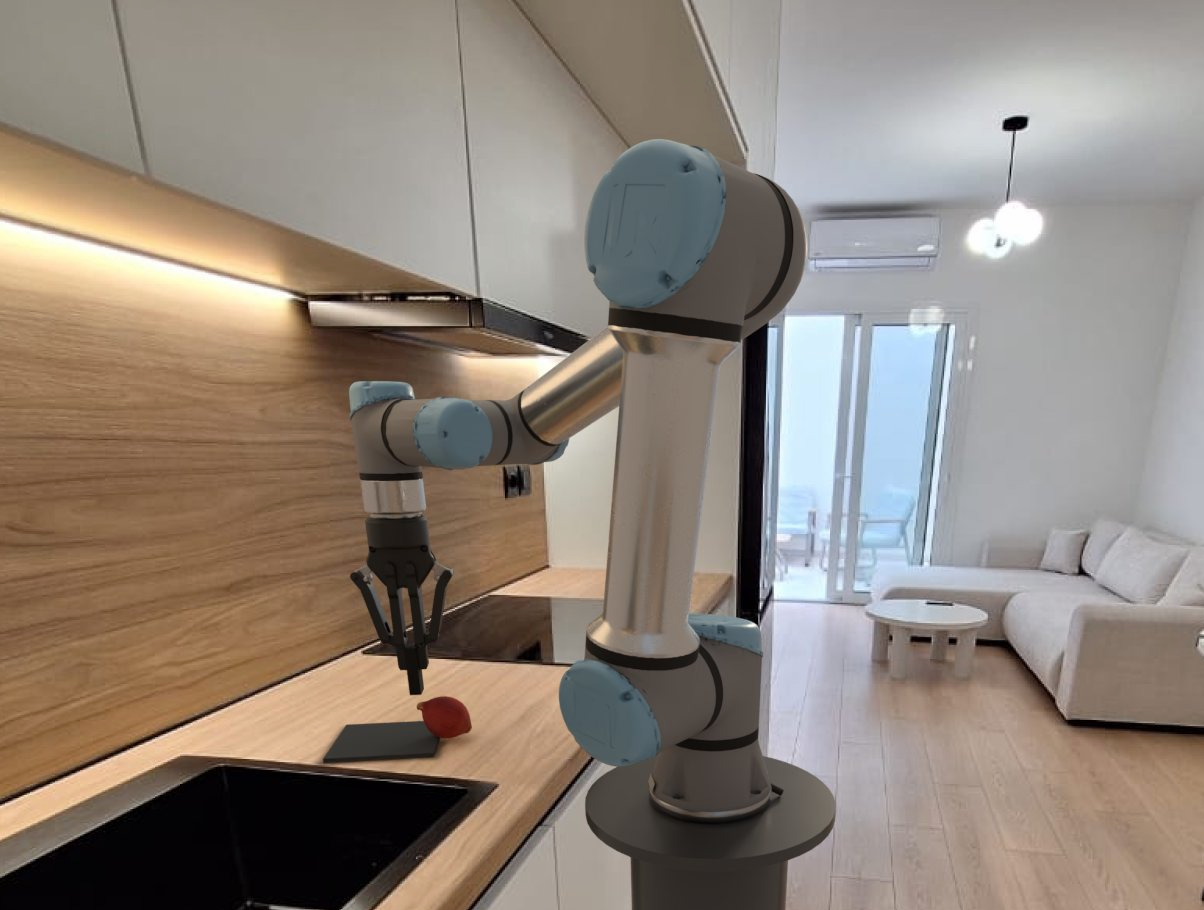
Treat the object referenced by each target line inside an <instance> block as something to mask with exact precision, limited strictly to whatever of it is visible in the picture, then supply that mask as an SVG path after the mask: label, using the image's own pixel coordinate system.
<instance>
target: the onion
mask: <svg viewBox="0 0 1204 910" xmlns="http://www.w3.org/2000/svg"><path fill="white" fill-rule="evenodd" d="M416 710H418V711H420V712H421V716H422V721H424V723H425V725H426V727H427V728H428V730H429V731H430V732H431V733H432V734H434V735H435V736H437V737H440V739H454V738H457V737H459V736H462V735H465V734H469V733H470V732H471V731H472V729H473V725H472V719H471V715H470V713H469V710H468V708H467V706H466V705H465V703H464V702H462V701H460V699H457V698H454V697H453V696H446V695H444V696H443V695H442V696H435V697H433V698H430V699H428V700H425V701H420V702H418V703H417V704H416Z"/></svg>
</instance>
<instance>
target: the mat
mask: <svg viewBox="0 0 1204 910" xmlns="http://www.w3.org/2000/svg"><path fill="white" fill-rule="evenodd" d="M440 741H441V738H440V737H437V736H435V735H434V734H432V733H431V732H430V731H429V730H428V728H427V727H426V725H425V723H424V721H423V720H414V721H413V720H412V721H393V722H392V721H391V722H390V721H389V722H371V723H353V724H352V723H350V724H345V726H344V727H343V729H342V730H341V732H340V733H339V735H338V736H337V737H336V739H335V741H334V742H333V743H332V745H331V746H330V747H329V750H328V751H327V752H326V754H325V755H324V757H323V758H322V761H323V764H325V763H343V762H344V763H345V762H347V763H348V762H363V761H364V762H365V761H380V760H381V761H382V760H383V761H385V760H399V759H401V760H402V759H418V758H419V759H421V758H434V757H435V755H436V752H437V750H438V747H439V744H440Z"/></svg>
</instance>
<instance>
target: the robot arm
mask: <svg viewBox="0 0 1204 910" xmlns="http://www.w3.org/2000/svg"><path fill="white" fill-rule="evenodd" d="M583 237H584V241H583V243H584V246H583V247H584V256H585V261H586V265H587V270H588V271H589V273H591V274H592V275H593V278H592V279H593V283H594V285H595V287H596V288H597V290H598V291H600V293H601V294H602V295H603V296H604V297H605V298H606V299H607V300H608V301H609V304H608V316H607V317H608V319H607V326H606V327H604V328H603V329H601V331H599V332H598V333H596V334H595V335H594V336H592V337H591V338H590V339H589V340H587V341H586V342H584V343H583V344H582V345H581V346H579V347H577V349H575V350H574V351H573V352H571V353H570V354H569V355H568V356H565V358H563V360H561V361H560V362H558V363H557V364H555V366H553V367H552V368H550V369H549V370H548V371H547V372H546V373H544V374H542V376H540V377H539V378H537V379H536V380H535V381H533V383H531V384H530V385H528V386H526V387H525V388H524V389H523V390H522V391H520V392H519V393H517V394H516V395H514V396H513V397H511V398H509V399H506V400H504V399H503V400H500V399H465V398H460V397H455V396H454V397H453V396H452V397H448V396H447V397H445V396H439V397H436V398H435V397H434V398H418V399H416V396H415V393H414V388H413V386H412V385H411V384H409V383H408V382H403V381H389V380H387V381H385V380H384V381H383V380H373V381H370V380H369V381H368V380H367V381H365V380H363V381H360V380H359V381H355V382H353V383H352V384H351V385H350V387H349V388H348V396H349V397H348V398H349V405H350V406H349V407H350V413H349V420H350V424H351V431H352V436H353V443H354V450H355V456H356V457H355V458H356V464H357V470H358V476H359V487H360V494H361V502H362V510H363V512H364V513H366V514H368V516H366V519H365V520H364V524H365V532H366V540H367V546H368V547H367V548H368V554H367V556H366V559H365V564H364V565H363V566H361V567H360V568H357V569H355V570H354V571H352V572H351V573H350V574H349V578H350V580H351V581H352V582H353V584H354V585H355V586H356V587H357V588H358V590H359V591H360V594H361V596H362V598H363V601H364V603H365V606H366V608H367V611H368V613H369V617H370V619H371V622H372V623H373V626H374V629H375V631H376V634H377V636H378V639H379V641H380V642H381V644H384V645H385V644H388V645H391V646H393V647H394V648H395V651H396V661H397V667H398V669H399V671H406V677H407V686H408V692H409V696H422V695H423V692H424V690H425V684H424V677H423V670H428V667H429V665H430V660H429V649H428V645H429V644H432V643H436V642H437V641H438V639H439V637H440V635H441V630H442V624H443V617H444V611H445V603H446V597H447V591H448V590H447V589H448V584H449V583H450V582H451V579H452V578H453V577H454V574H455V571H454V568H453V567H446V566H444V565H443V564H441V563H440V562H439V561H437V558H436V555H435V554H434V552H433V550H432V548H431V541H430V540H431V539H430V532H429V523H428V517H426V515H424V514H423V513H424V512H425V511H426V510H427V502H426V495H425V486H424V485H425V484H424V474H423V469H422V467H423V468H424V467H425V468H436V469H443V470H445V471H453V470H467V469H472V468H476V467H486V466H487V467H489V466H511V465H530V466H532V465H533V466H537V465H541V464H544V463H550V462H555V461H557V460H558V459H560V458H561V457H562V456H563V455H564V454H565V451H566V448H567V447H568V446H569V442H570V439H571V438H572V437H574V436H576V435H577V434H578V433H580V432H582V431H583V430H585V429H586V428H587V427H589V426H591V425H592V424H594V423H595V422H597V421H598V420H600V419H602V418H603V417H605V416H607V414H610V413H611V412H613V411H614V410H615V409H617V408H618V416H617V417H618V418H617V427H616V428H617V429H616V430H617V431H616V441H615V455H614V469H613V479H612V491H611V492H612V493H611V505H610V507H611V508H610V516H609V517H610V518H609V519H610V520H609V530H608V545H607V556H606V557H607V558H606V570H605V583H604V594H603V607H602V613H601V614H600V615H599V616H597V617H596V618H595V619H594V620H592V621H591V622H590V623H588V624H587V626H586V632H585V643H584V647H585V648H584V658H583V659H582V660H581V659H580V660H577V661H574V663H573V664H572V665H570V668H569V669H567V670H566V671H564V673H563V675H562V677H561V679H560V682H559V687H558V704H559V709H560V713H561V716H562V719H563V722H564V725H565V726H566V728H567V730H568V732H569V733H570V734H571V735H572V736H573V739H574V741H575V742H576V743H577V745H578V746H579V748H581V750H583V751H584V752H585V753H586V754H587V755H589V756H590V757H591V758H593V759H594V760H596V761H598V762H600V763H601V764H604V765H606V766H611V767H615V768H616V767H623V766H628V765H632V764H634V763H637V762H639V761H645V760H649V759H651V758H652V757H654V756H656V755H657V754H659V755H658V758H657V761H656V764H655V767H654V770H653V773H652V775H651V774H650V777H649V780H648V782H649V800H650V803H651V804H652V806H653V807H654V808H655V809H656V810H657V811H659V812H660V813H662V814H664V815H666V816H668V817H671V818H673V819H676V820H680V821H684V822H689V823H696V824H728V823H735V822H740V821H744V820H747V819H750V818H753V817H755V816H757V815H759V814H760V813H762V812H763V811H765V810H766V809H767V808H768V806H769V804H770V802H771V791H772V792H774V793H776V794H778V795H780V796H781V795H782V794H783V791H784V790H783V789H781V788H779V787H777V786H775V785H773V784H772V783H770V779H769V775H768V772H767V769H766V765H765V762H764V759H763V756H764V755H763V752H762V749H761V746H760V741H759V734H760V709H761V686H762V669H763V668H762V666H763V657H764V652H763V644H762V642H763V641H762V640H763V639H762V630H761V628H760V627H759V626H758V624H756V623H755V622H753V621H751V620H748V619H746V618H745V619H744V618H740V617H735V616H730V615H729V616H728V615H721V614H713V613H712V614H710V613H699V612H698V613H697V612H695V613H694V612H692V613H691V612H690V607H691V601H692V591H693V583H694V574H695V569H696V567H695V566H696V561H697V560H696V559H697V552H698V544H699V536H700V528H701V521H702V520H701V519H702V512H703V506H704V505H703V504H704V496H705V489H706V481H707V473H708V467H709V457H710V451H711V450H710V449H711V443H712V434H713V426H714V419H715V412H716V411H715V410H716V404H717V403H716V402H717V394H718V387H719V378H720V372H721V371H720V370H721V366H722V365H723V363H724V362H725V361H726V360H727V359H728V358H729V357H730V356H731V355H733V354H734V353H735V352H736V351H737V350H738V349H740V347H741V342H742V340H744V339H745V338H747V337H748V336H750V335H752V334H753V333H755V332H757V331H758V330H759V329H760V328H762V327H763V326H765V325H766V324H768V323H769V322H770V321H772V320H773V319H774V318H776V316H777V315H779V314H780V313H781V312H782V311H783V310H784V308H785V307H786V306H787V305H788V304H789V303H790V301H791V300H792V298H793V297H794V295H795V294H796V293H797V290H798V288H799V286H800V283H801V282H802V278H803V275H804V272H805V269H806V264H807V255H808V239H807V238H808V237H807V233H806V226H805V223H804V220H803V217H802V214H801V211H800V209H799V207H798V206H797V204H796V203H795V201H794V199H793V198H792V197H791V195H789V193H788V192H787V191H786V190H785V189H784V188H783V187H782V186H780V185H779V184H778V183H777V182H775V181H773V180H771V178H768V177H766V176H763V175H761V174H758V173H756V172H755V173H754V172H751V171H749V170H747V169H745V168H743V167H740V166H739V165H736V164H734V163H732V162H730V161H728V160H726V159H724V158H721V157H719V156H717V155H715V154H713V153H711V152H710V151H709V150H707V149H705V148H704V147H701V146H699V145H692V144H691V145H690V144H686V143H681V142H677V141H674V140H671V139H665V138H654V139H653V138H652V139H649V140H644V141H641V142H639V143H636V144H635V145H633V146H631V147H630V148H628V149H626V150H625V151H624V152H623V153H621V154H620V155H619V156H618V157H617V158H616V159H615V161H614V163H613V165H612V167H611V169H609V170H606V171H605V172H604V174H603V175H602V176H601V179H600V180H599V182H598V184H597V186H596V187H595V190H594V192H593V195H592V198H591V200H590V203H589V207H588V210H587V215H586V219H585V225H584V235H583ZM432 571H433V579H434V581H435V582H436V585H435V588H434V595H433V600H432V608H431V614H430V615H431V616H430V622H429V629H428V631H427V626H426V618H425V610H424V609H425V608H424V600H423V587H422V586H423V584H424V583H425V581H426V580H427V578H428V576H429V574H430V573H431V572H432ZM372 573H373V574H374V575H375V576H376V578H377V579H378V580H379V581H380V582H381V584H383V585H384V587H386V592H387V593H386V594H387V597H388V603H389V610H390V619H391V626H392V629H391V626H390V623H389V621H388V619H387V615H386V613H385V611H384V608H383V605H382V603H381V601H380V597H379V595H378V593H377V590H376V587H375V585H374V584H373V582H372V581H373V580H374V576H373V574H372ZM403 588H404V589H406V590H407V594H408V595H407V596H408V597H409V599H408V600H409V605H410V607H409V608H410V613H411V614H410V616H411V623H412V630H413V631H412V632H413V638H414V639H413V640H414V642H413V643H408V640H409V637H408V636H407V634H408V633H407V627H406V618H405V617H406V616H405V609H404V600H403Z"/></svg>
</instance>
